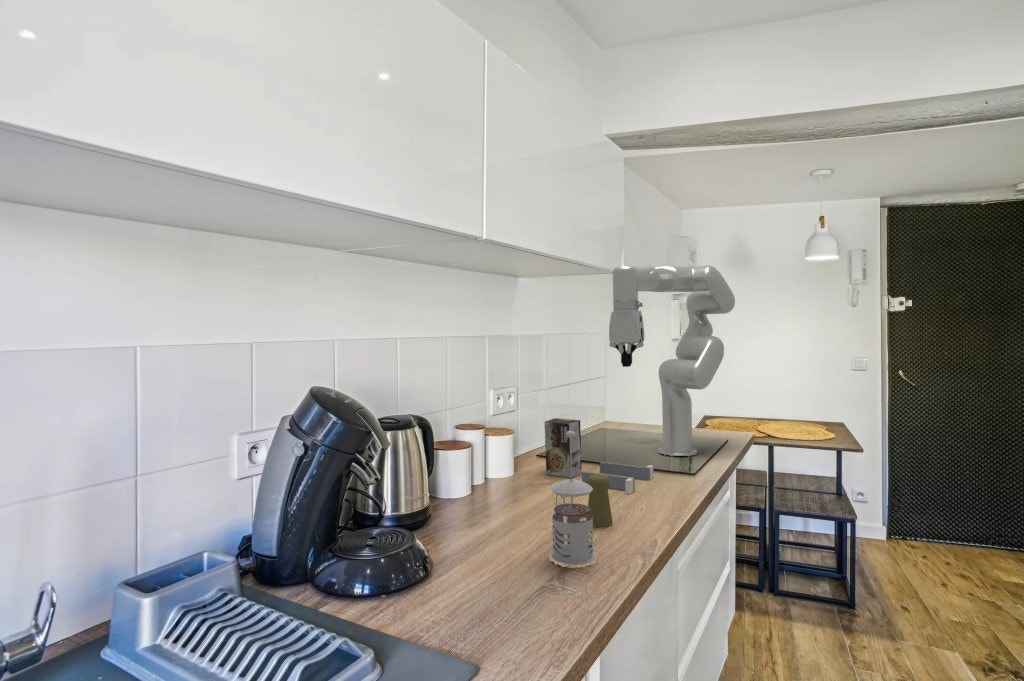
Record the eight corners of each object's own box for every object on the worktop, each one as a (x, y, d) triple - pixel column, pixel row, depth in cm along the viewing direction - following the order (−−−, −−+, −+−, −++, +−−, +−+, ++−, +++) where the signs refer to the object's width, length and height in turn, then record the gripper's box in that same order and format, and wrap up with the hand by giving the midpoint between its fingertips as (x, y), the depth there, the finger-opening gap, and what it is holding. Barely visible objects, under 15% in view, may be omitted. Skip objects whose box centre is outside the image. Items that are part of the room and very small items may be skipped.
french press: (558, 571, 111) (555, 437, 110) (538, 548, 123) (535, 426, 122) (607, 564, 114) (604, 433, 113) (582, 542, 125) (580, 423, 124)
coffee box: (582, 473, 179) (581, 420, 179) (570, 478, 174) (569, 423, 174) (557, 469, 185) (556, 417, 184) (545, 474, 180) (543, 420, 179)
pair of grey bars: (604, 471, 181) (604, 459, 181) (653, 477, 173) (653, 465, 173) (578, 486, 166) (577, 474, 166) (629, 494, 158) (629, 480, 158)
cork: (616, 520, 138) (615, 473, 137) (606, 529, 133) (605, 479, 132) (592, 517, 141) (591, 470, 141) (581, 525, 136) (580, 476, 135)
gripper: (653, 306, 184) (654, 366, 185) (607, 307, 192) (608, 364, 193) (644, 306, 178) (645, 368, 178) (598, 307, 186) (599, 366, 186)
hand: (626, 366), depth 186 cm, fingers closed
